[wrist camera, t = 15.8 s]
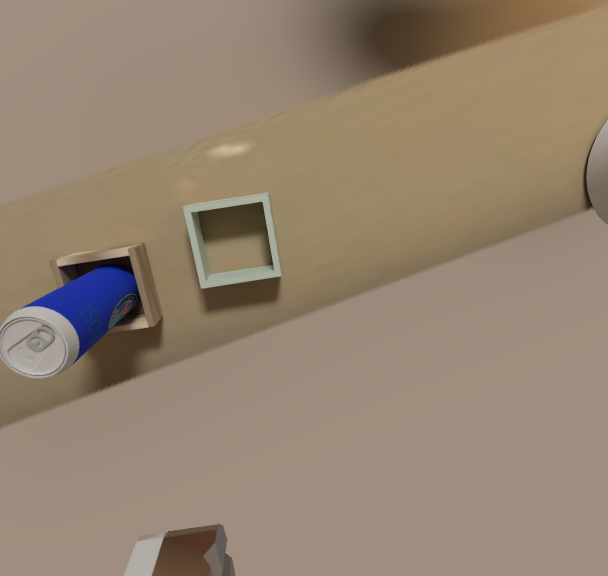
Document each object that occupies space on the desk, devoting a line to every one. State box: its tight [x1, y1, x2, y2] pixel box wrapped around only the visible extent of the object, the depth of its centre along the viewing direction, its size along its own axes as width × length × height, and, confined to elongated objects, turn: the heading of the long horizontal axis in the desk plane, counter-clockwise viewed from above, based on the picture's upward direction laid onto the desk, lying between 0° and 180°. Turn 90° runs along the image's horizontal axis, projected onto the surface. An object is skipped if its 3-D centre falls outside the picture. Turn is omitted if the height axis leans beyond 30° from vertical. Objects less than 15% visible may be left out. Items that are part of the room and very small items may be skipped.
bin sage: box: [183, 192, 282, 289], centre depth 40 cm, size 8×8×3 cm
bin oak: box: [49, 243, 163, 334], centre depth 40 cm, size 8×8×3 cm
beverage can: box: [0, 264, 140, 379], centre depth 35 cm, size 5×5×15 cm
